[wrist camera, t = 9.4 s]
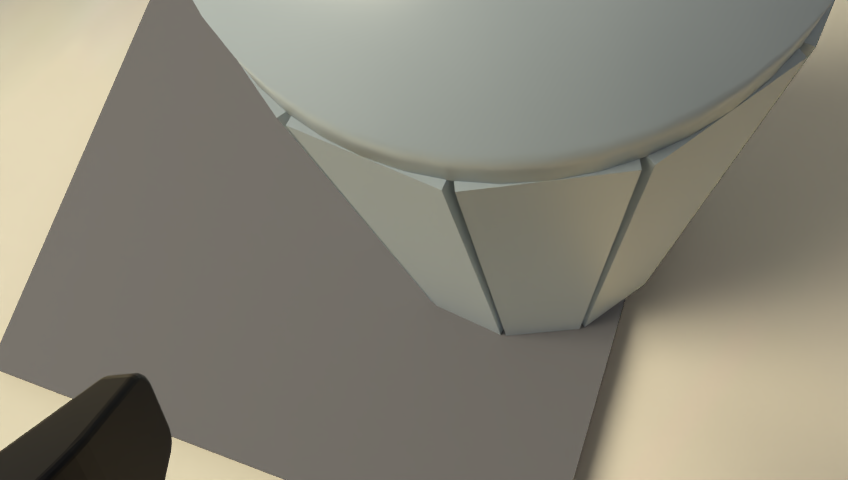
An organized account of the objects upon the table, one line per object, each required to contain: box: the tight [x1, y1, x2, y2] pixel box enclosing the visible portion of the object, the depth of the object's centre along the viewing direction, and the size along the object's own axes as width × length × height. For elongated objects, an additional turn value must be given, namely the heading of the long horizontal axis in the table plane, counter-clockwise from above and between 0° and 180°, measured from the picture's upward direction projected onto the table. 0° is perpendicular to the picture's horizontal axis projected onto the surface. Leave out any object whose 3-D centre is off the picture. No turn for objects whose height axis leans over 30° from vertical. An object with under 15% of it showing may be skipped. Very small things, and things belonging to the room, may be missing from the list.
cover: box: [193, 0, 835, 336], centre depth 13 cm, size 7×7×12 cm
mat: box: [0, 0, 625, 480], centre depth 20 cm, size 13×15×1 cm
